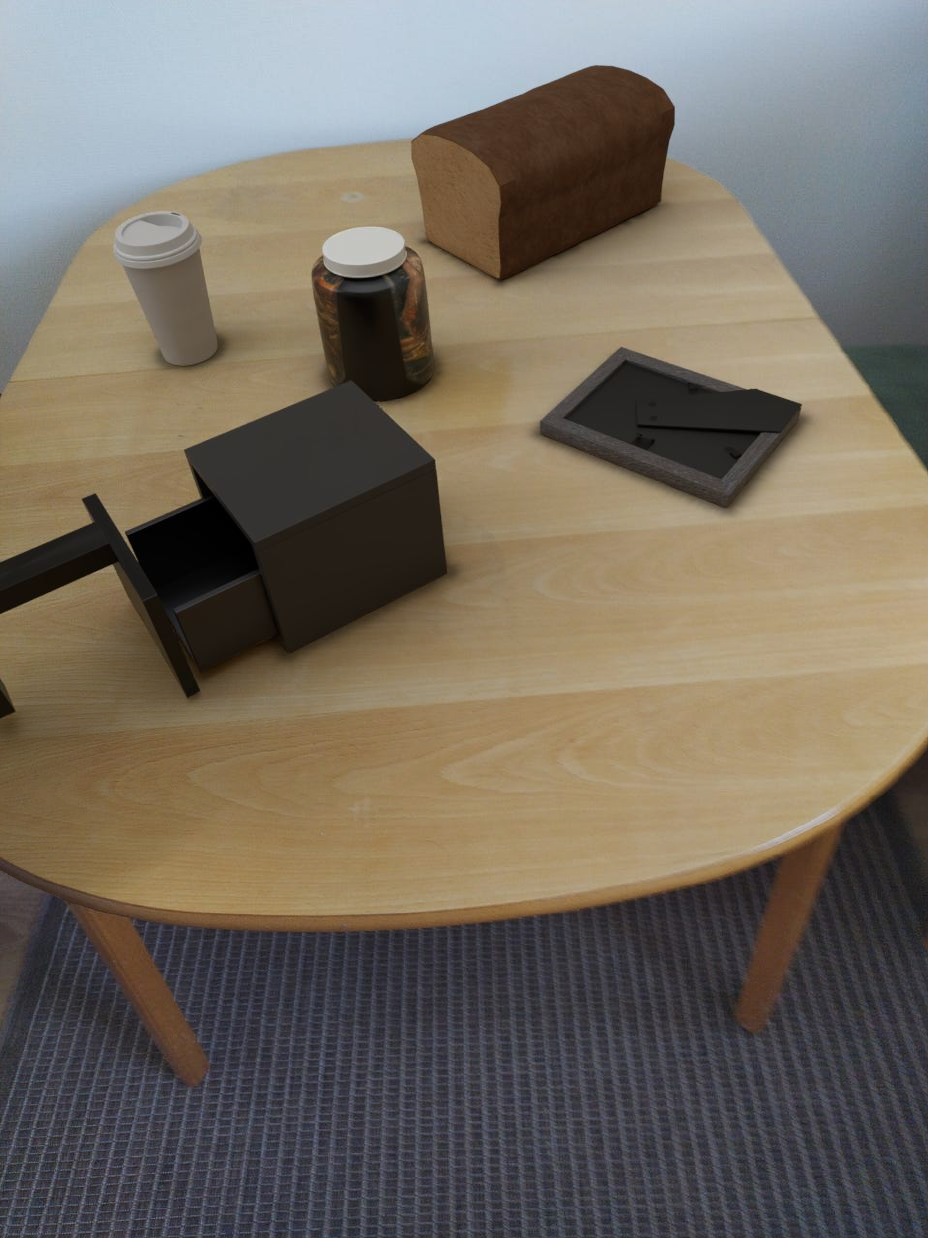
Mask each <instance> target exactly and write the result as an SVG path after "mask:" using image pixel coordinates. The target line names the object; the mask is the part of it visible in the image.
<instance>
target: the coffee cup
mask: <svg viewBox="0 0 928 1238" xmlns="http://www.w3.org/2000/svg"><path fill="white" fill-rule="evenodd" d="M202 243H203V238H202V235H201V234H200V232H199V230H198V229H197V228H196V226H195V225H194V224H193V223H191V222H190V220H189V218H188V217H187V216H186V215H185V214H182V213H180V212H177V211H172V210H171V211H170V210H160V211H159V210H157V211H150V212H145V213H142V214H138V215H136V216H133V217H130V218H129V219H127V220H126V221H124V222H122V223H121V224H120V225H119V226H118V227H117V228H116V229H115V232H114V241H113V247H112V251H113V259H114V260H115V261H116V262H117V263H118V264H120V265H122V268H123V271H124V272H125V274H126V277H127V279H128V281H129V283H130V285H131V288H132V290H133V292H134V294H135V296H136V299H137V301H138V302H139V305H140V307H141V310H142V312H143V314H144V316H145V320H146V321H147V323H148V325H149V327H150V330H151V332H152V334H153V337H154V339H155V341H156V343H157V345H158V348H159V350H160V352H161V354H162V357H163V359H164V360H165V361H166V362H167V363H168V364H170V365H174V366H182V367H183V366H184V367H185V366H186V367H187V366H193V365H196V364H200V363H203V362H205V361H208V360H209V359H211V358H212V357H213V356H214V355H215V354H216V353H217V351H218V348H219V343H218V337H217V334H216V328H215V323H214V318H213V313H212V307H211V303H210V297H209V292H208V287H207V282H206V276H205V272H204V266H203V261H202V254H201V250H200V247H201V246H202Z"/></svg>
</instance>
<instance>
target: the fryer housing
mask: <svg viewBox="0 0 928 1238" xmlns="http://www.w3.org/2000/svg"><path fill="white" fill-rule="evenodd" d="M183 452H184V455H185V458H186V459H187V463H188V467H189V469H190V473H191V475H192V477H193V480H194V483H195V486H196V489H197V491H198V495H199V498H200V499H201V498H203V497H205V496H208V495H210V494H212V493H213V494H214V495H215V497H216V498H217V499H218V501H219V502H220V503H221V505H222V506H223V507H224V509H225V510H226V511H227V513H228V514H229V515H230V517H231V518H232V519H233V521H234V522H235V523H236V525H237V526H238V527H239V529H240V530H241V531H242V533H243V534H244V535H245V537H246V538H247V539H248V541H249V542H250V543H251V545H252V547H253V551H254V554H255V557H256V560H257V563H258V566H259V570H260V573H261V576H262V579H263V582H264V585H265V589H266V592H267V595H268V598H269V601H270V604H271V608H272V611H273V614H274V617H275V620H276V623H277V626H278V630H279V634H277V635H275V636H276V638H277V639H278V640H279V642H280V644H281V645H282V646H283V648H284V649H285V650H286V652H287V653H288V654H291V653H293V652H295V651H297V650H299V649H301V648H303V647H305V646H307V645H308V644H311V643H313V642H315V641H316V640H319V639H320V638H322V637H324V636H326V635H329V634H330V633H332V632H334V631H336V630H338V629H340V628H342V627H344V626H346V625H348V624H350V623H351V622H354V621H356V620H358V619H360V618H362V617H363V616H366V615H367V614H369V613H371V612H374V611H375V610H377V609H379V608H381V607H383V606H385V605H387V604H389V603H391V602H393V601H395V600H397V599H398V598H401V597H403V596H405V595H407V594H408V593H411V592H413V591H415V590H416V589H418V588H420V587H422V586H424V585H426V584H428V583H430V582H433V581H434V580H436V579H438V578H440V577H442V576H443V575H445V574H447V573H448V569H447V567H448V566H447V559H446V547H445V539H444V530H443V529H444V528H443V520H442V510H441V500H440V491H439V481H438V473H437V472H438V471H437V463H436V459H435V457H433V456H432V455H431V454H430V453H429V452H428V451H426V449H425V448H424V447H423V446H421V444H419V442H417V440H415V439H414V438H413V437H412V436H411V435H410V434H409V433H408V432H407V431H406V430H405V429H404V428H402V426H401V425H399V423H397V422H396V421H395V420H394V419H393V417H391V416H390V415H389V414H388V413H387V412H386V411H385V410H384V409H383V408H382V407H380V405H378V403H376V402H375V400H372V399H371V398H370V397H369V396H368V395H367V394H365V393H364V392H363V391H362V390H361V389H360V388H359V387H358V386H357V385H356V384H355V383H354V382H353V381H352V380H351V381H348V382H346V383H344V384H341V385H339V386H336V387H334V386H333V387H332V388H329V389H327V390H324V391H321V392H320V393H316V394H314V395H313V396H309V397H307V398H305V399H303V400H300V401H297V402H296V403H293V404H291V405H288V406H286V407H283V408H281V409H279V410H276V411H273V412H271V413H269V414H267V415H264V416H262V417H259V418H256V419H255V420H252V421H250V422H246V423H244V424H242V425H240V426H237V427H234V428H233V429H231V430H228V431H225V432H223V433H221V434H218V435H216V436H213V437H211V438H209V439H206V440H203V441H201V442H199V443H197V444H194V445H192V446H189V447H186V448H185V449H183Z"/></svg>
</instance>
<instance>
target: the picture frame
mask: <svg viewBox="0 0 928 1238" xmlns="http://www.w3.org/2000/svg"><path fill="white" fill-rule="evenodd" d="M802 405H803V404H802V403H800V402H797V401H794V400H792V399H788V398H785V397H782V396H779V395H776V394H773V393H770V392H767V391H764V390H762V389H758V388H748V389H747V388H744V387H741V386H739V385H736V384H732V383H729V382H727V381H724V380H721V379H718V378H715V377H712V376H708V375H705V374H703V373H701V372H700V373H699V372H697V371H694V370H692V369H688V368H685V367H683V366H679V365H676V364H673V363H670V362H667V361H665V360H661V359H658V358H656V357H652V356H649V355H646V354H643V353H641V352H637V351H634V350H632V349H628V348H625V347H623V346H620V347H619V348H618V349H617V350H615V351H614V352H613V353H612V354H610V356H609V357H608V358H607V359H606V360H605V361H604V362H603V363H601V364H600V365H599V366H597V368H596V369H595V370H594V371H593V372H591V374H590V375H589V376H587V378H584V380H583V381H582V382H581V383H580V384H579V385H577V386H576V387H575V388H574V389H573V390H572V391H571V392H570V393H569V394H567V396H565V397H564V398H563V399H562V400H561V401H560V402H559V403H558V404H557V405H555V407H553V408H552V409H551V410H550V411H549V412H548V413H547V414H546V415H544V417H542V419H541V420H539V434H540V435H543V436H545V437H548V438H550V439H552V440H555V441H558V442H560V443H562V444H565V445H567V446H570V447H573V448H575V449H578V450H580V451H582V452H584V453H588V454H590V455H592V456H594V457H598V458H600V459H603V460H605V461H608V462H610V463H613V464H615V465H618V466H620V467H622V468H625V469H628V470H630V471H632V472H635V473H637V474H639V475H643V476H645V477H647V478H649V479H652V480H655V481H658V482H659V483H662V484H665V485H668V486H670V487H672V488H674V489H678V490H679V491H683V492H685V493H688V494H690V495H693V496H695V497H698V498H700V499H702V500H705V501H707V502H710V503H712V504H715V505H717V506H720V507H722V508H725V509H727V508H728V507H729V505H730V504H731V503H732V501H733V500H734V499H735V498H736V497H737V496H738V495H739V494H740V492H741V491H742V489H743V488H744V487H745V486H746V485H747V483H748V482H749V481H750V480H751V478H752V477H754V475H755V473H756V472H757V471H758V470H759V469H760V468H761V466H762V465H763V464H764V463H765V461H766V460H767V459H768V458H769V457H770V455H772V453H773V452H774V451H775V449H776V448H777V447H778V446H779V445H780V443H782V441H783V439H784V438H785V437H786V436H787V435H788V433H789V432H790V431H791V430H792V429H793V428H794V426H795V425H796V424H797V422H798V421H799V420H800V419H799V418H800V415H801V411H802Z"/></svg>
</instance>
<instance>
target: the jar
mask: <svg viewBox="0 0 928 1238" xmlns="http://www.w3.org/2000/svg"><path fill="white" fill-rule="evenodd" d="M321 251H322V255H320V256H319V257H318V258H317V259H316V261H315V262H314V263H313V266H312V268H311V275H310V277H311V278H310V279H311V287H312V294H313V295H312V296H313V300H314V305H315V312H316V317H317V322H318V327H319V328H318V329H319V334H320V337H321V343H322V344H321V345H322V349H323V353H324V358H325V363H326V368H327V369H326V370H327V374H328V377H329V381H330V383H331V384H332V385H333V388H334V387H336V386H339V385H341V384H344V383H346V382H348V381H351V380H352V381H353V382H354V383H355V384H356V385H357V386H358V387H359V388H360V389H361V390H362V391H363V392H364V393H365V394H367V395H368V396H369V397H370V398H371V399H372V400H373V401H388V400H393V399H398V398H399V399H400V398H402V397H405V396H408V395H411V394H412V393H415V392H417V391H419V390H420V389H422V388H423V387H424V386H425V385H427V384H428V383H429V381H430V380H431V378H432V377H433V374H434V371H435V363H434V362H435V361H434V348H433V340H432V339H433V338H432V329H431V319H430V318H431V317H430V308H429V299H428V290H427V283H426V274H425V269H424V265H423V261H422V259H421V257H420V256H419V254H418V253H417V252H416V251H415V250H414V249H412V248H410V247H408V246H406V241H405V238H404V237H403V235H402V234H400V233H399V232H398V231H395V230H393V229H391V228H388V227H382V226H369V225H368V226H357V227H352V228H348V229H345V230H342V231H339V232H337V233H334V234H333V235H331V236H329V238H327V239H326V240H325V241H324V243H323V244H322V248H321Z"/></svg>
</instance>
